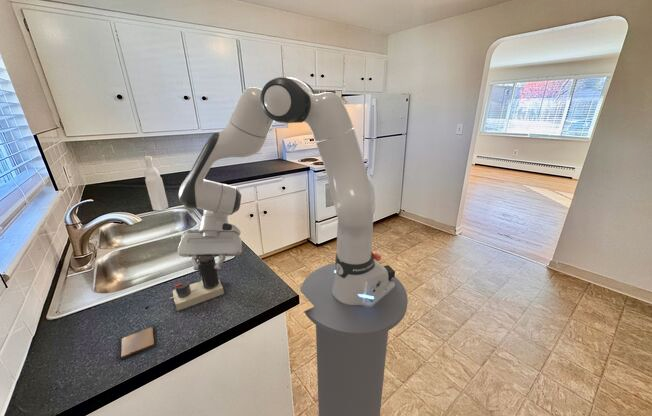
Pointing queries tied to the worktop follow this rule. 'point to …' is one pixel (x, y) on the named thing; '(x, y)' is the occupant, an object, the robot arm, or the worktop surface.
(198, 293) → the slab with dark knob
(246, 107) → the robot arm
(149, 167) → the bottle
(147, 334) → the trivet
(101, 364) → the worktop surface
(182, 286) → the knob
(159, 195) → the milk
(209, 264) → the jar
